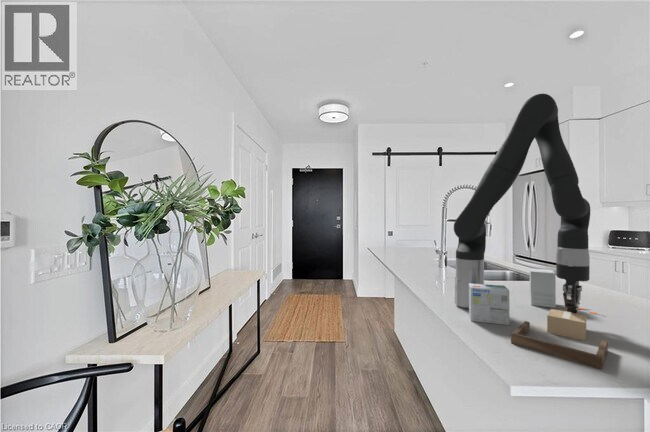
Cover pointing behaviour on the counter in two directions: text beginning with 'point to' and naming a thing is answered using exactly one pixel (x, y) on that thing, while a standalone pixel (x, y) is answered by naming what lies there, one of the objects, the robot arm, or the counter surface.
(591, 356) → the brown wooden u-shaped piece
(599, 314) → the key chain
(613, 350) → the counter surface
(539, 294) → the supplement box
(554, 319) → the kraft carton
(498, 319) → the light bulb box
